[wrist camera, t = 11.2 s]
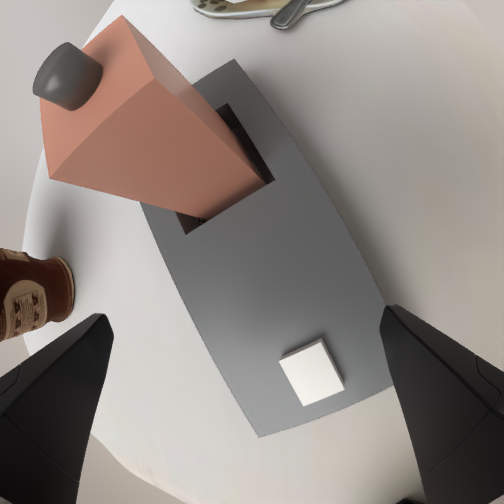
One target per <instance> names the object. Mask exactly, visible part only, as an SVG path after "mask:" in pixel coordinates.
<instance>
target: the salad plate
mask: <svg viewBox="0 0 504 504" xmlns="http://www.w3.org/2000/svg"><path fill="white" fill-rule="evenodd" d="M342 1H343V0H247V1H244V2H239V3H235V4H233V3H231V2H228V1H226V0H190V3H191V5H192V6H193V8H194V10H195V11H196V12H199V13H200V14H202V15H205V16H207V17H209V18H225V19H250V18H258V17H268V16H274V17H272V19H271V20H270V24H271V26H272V27H273V28H275V29H278V30H285V29H288V28H290V27H291V26H293V24H294V23H296V21H297V20H298V19H299V18H300V17H301V16H302V15H303V14H305V13H308V12H311V11H314V10H317V9H321V8H325V7H330V6H333V5H335V4H337V3H339V2H342Z"/></svg>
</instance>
